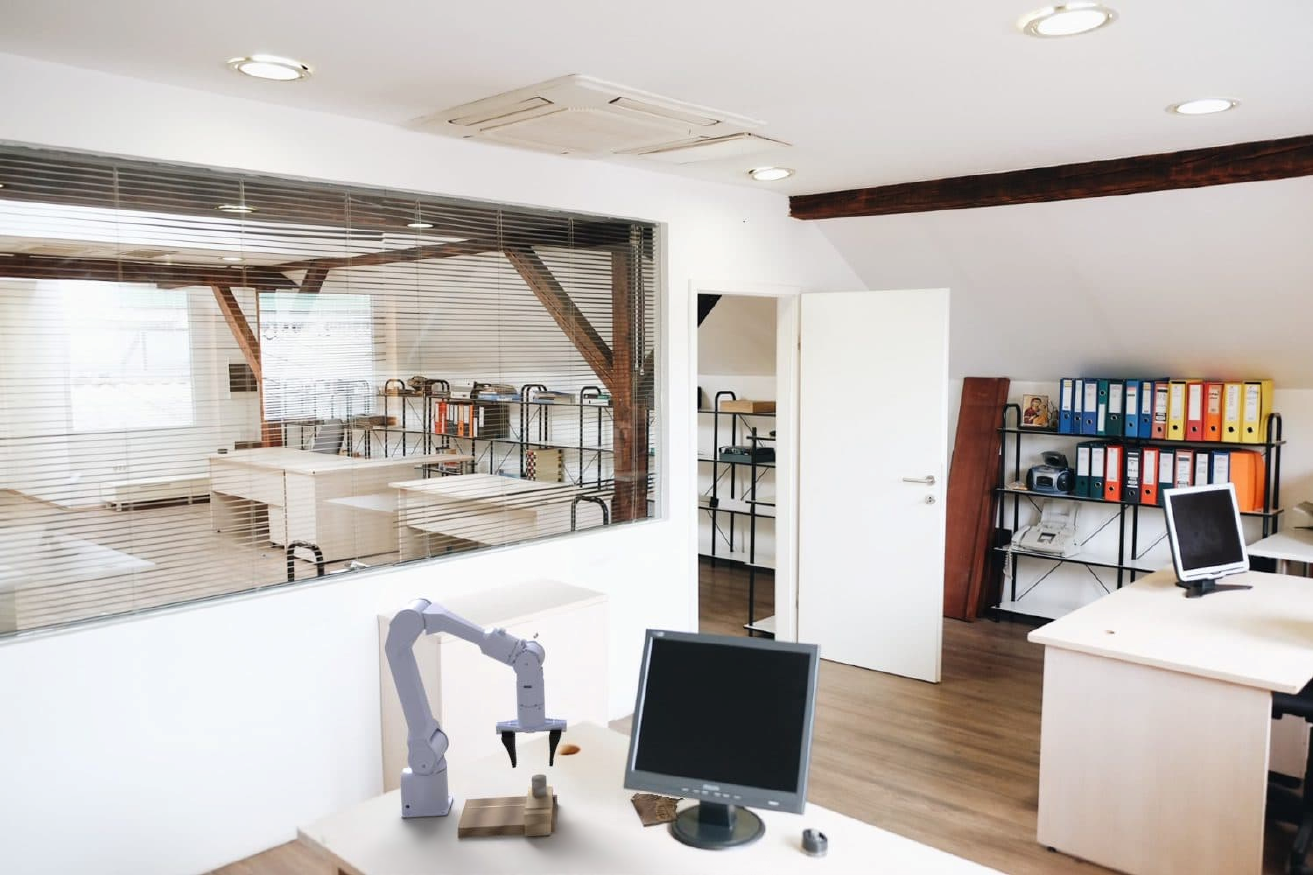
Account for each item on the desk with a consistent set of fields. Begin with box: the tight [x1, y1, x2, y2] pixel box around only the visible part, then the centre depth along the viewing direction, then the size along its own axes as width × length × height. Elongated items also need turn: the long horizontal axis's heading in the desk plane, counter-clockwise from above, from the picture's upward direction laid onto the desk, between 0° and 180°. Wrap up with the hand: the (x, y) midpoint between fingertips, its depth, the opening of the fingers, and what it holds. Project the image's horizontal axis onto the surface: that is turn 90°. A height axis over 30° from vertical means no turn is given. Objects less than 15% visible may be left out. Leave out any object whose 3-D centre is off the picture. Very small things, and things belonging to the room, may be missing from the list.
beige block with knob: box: [524, 773, 556, 837], centre depth 192 cm, size 6×12×8 cm, turn 3°
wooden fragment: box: [630, 792, 681, 828], centre depth 203 cm, size 26×11×1 cm, turn 168°
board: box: [457, 794, 558, 839], centre depth 194 cm, size 19×12×2 cm, turn 93°
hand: (533, 765), depth 198 cm, fingers open, 7 cm apart
